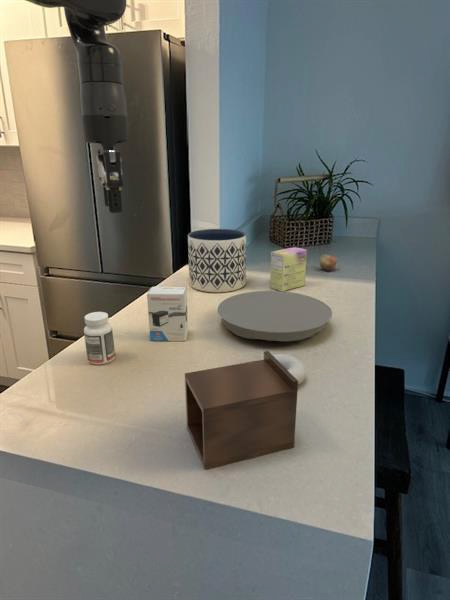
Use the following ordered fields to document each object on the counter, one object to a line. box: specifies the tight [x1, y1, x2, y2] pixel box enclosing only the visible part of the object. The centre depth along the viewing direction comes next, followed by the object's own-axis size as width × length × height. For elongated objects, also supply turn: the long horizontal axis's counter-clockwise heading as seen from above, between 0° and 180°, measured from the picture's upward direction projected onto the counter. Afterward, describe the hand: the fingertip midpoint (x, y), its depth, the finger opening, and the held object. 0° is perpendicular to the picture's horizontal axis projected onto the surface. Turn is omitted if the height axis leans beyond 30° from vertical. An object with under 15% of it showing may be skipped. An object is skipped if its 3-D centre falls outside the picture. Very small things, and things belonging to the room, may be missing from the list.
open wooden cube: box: [184, 350, 299, 470], centre depth 65 cm, size 14×10×11 cm
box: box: [269, 246, 308, 292], centre depth 135 cm, size 10×6×12 cm, turn 128°
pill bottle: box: [83, 311, 116, 366], centre depth 90 cm, size 6×6×10 cm
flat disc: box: [217, 290, 333, 342], centre depth 107 cm, size 28×28×4 cm
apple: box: [318, 253, 338, 272], centre depth 153 cm, size 6×8×6 cm
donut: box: [258, 353, 307, 385], centre depth 83 cm, size 10×4×10 cm
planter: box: [187, 228, 247, 294], centre depth 137 cm, size 18×18×16 cm
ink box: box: [146, 286, 189, 342], centre depth 100 cm, size 8×5×12 cm, turn 88°
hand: (113, 209), depth 79 cm, fingers open, 8 cm apart
